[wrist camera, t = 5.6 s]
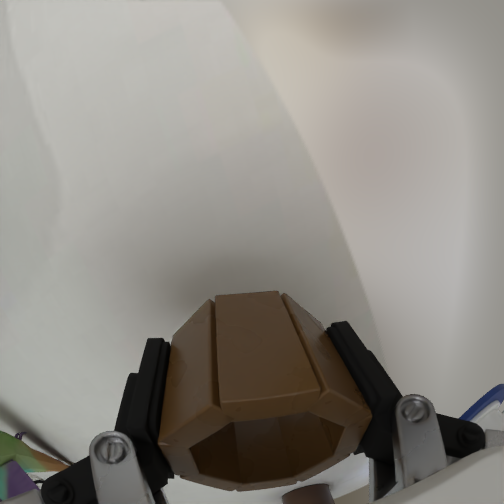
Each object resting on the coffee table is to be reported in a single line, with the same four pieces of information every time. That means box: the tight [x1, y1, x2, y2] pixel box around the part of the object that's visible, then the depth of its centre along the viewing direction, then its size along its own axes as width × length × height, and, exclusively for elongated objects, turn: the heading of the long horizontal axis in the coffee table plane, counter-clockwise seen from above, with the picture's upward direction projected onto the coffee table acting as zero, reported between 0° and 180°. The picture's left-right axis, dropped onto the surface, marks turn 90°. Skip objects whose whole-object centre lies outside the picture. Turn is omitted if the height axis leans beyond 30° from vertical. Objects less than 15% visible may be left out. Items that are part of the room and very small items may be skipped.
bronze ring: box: [157, 291, 372, 492], centre depth 8 cm, size 6×6×4 cm
